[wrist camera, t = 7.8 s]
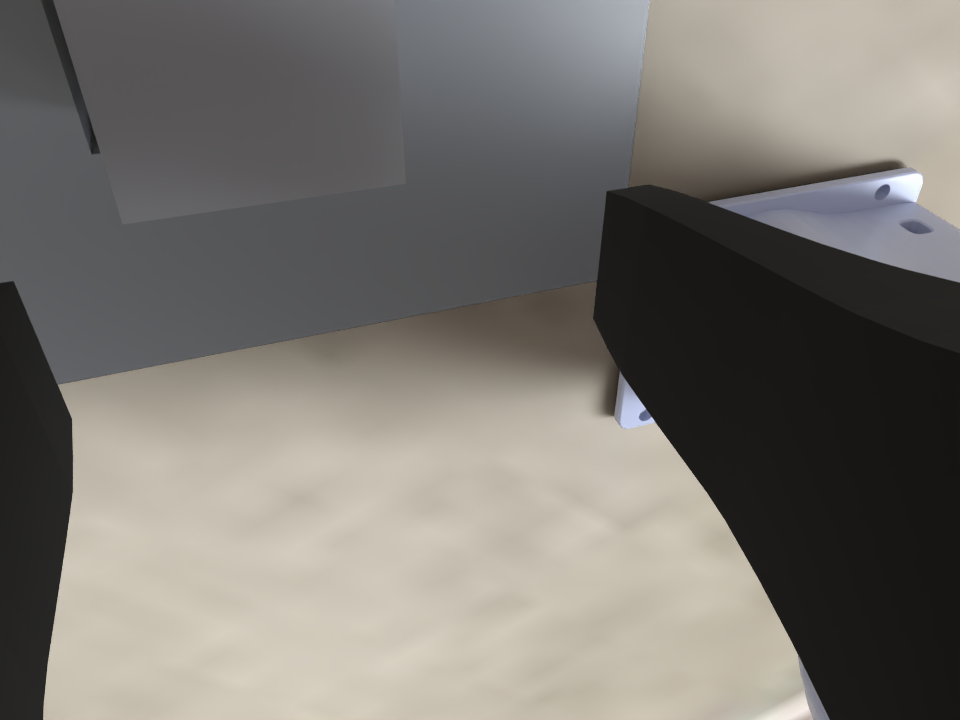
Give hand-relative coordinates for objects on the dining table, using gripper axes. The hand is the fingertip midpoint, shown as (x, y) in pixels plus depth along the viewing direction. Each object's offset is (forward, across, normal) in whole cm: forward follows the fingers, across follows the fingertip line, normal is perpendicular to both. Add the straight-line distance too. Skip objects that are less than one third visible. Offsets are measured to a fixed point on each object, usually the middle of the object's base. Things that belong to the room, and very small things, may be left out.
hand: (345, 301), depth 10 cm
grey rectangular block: (+8, +1, -3) cm, 9 cm away
